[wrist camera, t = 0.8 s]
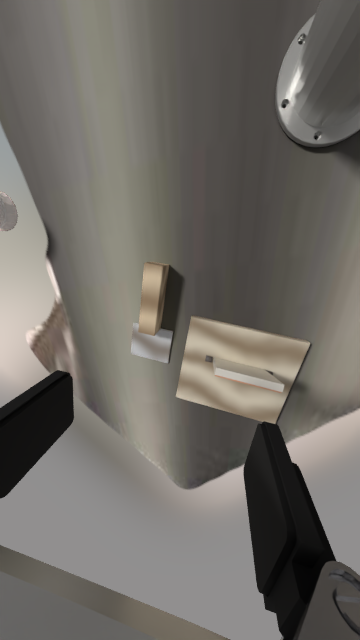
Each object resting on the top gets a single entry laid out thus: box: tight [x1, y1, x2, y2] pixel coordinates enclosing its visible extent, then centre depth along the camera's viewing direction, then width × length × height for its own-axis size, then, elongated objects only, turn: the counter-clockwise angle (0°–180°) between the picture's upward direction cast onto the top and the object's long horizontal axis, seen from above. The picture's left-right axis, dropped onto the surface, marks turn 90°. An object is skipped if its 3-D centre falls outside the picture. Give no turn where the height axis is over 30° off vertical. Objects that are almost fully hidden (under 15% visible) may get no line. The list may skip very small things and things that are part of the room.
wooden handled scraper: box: [131, 262, 173, 363], centre depth 35 cm, size 19×8×4 cm, turn 171°
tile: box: [213, 357, 284, 393], centre depth 31 cm, size 9×9×1 cm
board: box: [176, 315, 310, 424], centre depth 36 cm, size 18×20×2 cm
